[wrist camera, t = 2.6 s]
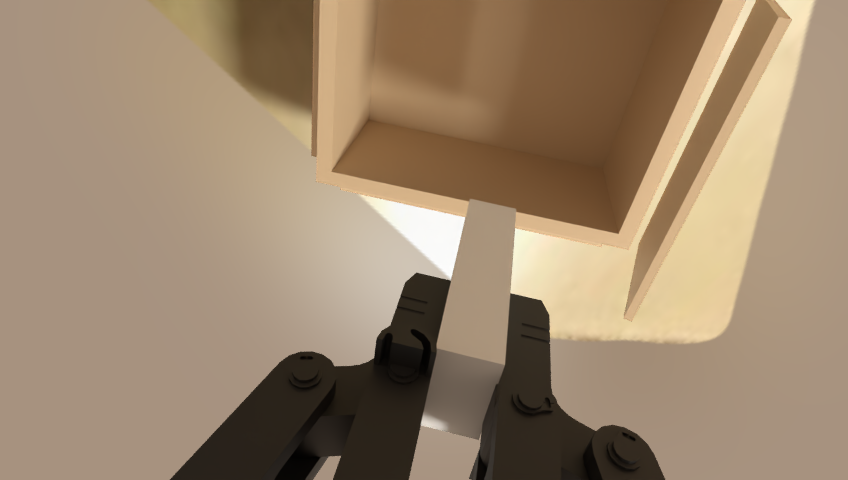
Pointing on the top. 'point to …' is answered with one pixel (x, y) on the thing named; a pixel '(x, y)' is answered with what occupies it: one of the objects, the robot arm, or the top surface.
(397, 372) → the robot arm
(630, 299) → the flap
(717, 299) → the top surface
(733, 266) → the top surface
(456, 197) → the open wooden box
